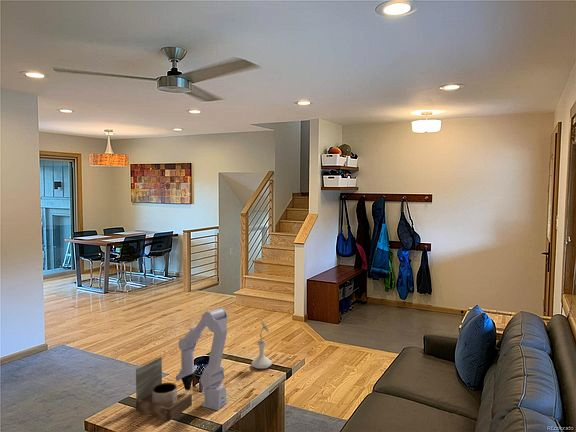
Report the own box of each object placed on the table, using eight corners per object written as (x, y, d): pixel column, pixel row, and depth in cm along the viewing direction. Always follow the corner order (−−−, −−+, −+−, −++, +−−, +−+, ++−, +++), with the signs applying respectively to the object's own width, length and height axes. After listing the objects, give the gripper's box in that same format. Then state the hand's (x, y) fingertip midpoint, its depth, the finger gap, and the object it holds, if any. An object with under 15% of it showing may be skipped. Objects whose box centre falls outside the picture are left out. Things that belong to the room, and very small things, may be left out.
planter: (171, 416, 182) (170, 394, 181) (147, 414, 183) (147, 392, 183) (181, 403, 193) (181, 383, 192) (158, 401, 194) (158, 381, 194)
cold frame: (191, 405, 191) (191, 364, 190) (168, 421, 177) (168, 377, 177) (160, 396, 199) (160, 357, 198) (136, 411, 185) (135, 369, 184)
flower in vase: (271, 370, 229) (271, 325, 228) (250, 370, 230) (250, 325, 228) (272, 361, 242) (272, 318, 241) (252, 361, 243) (252, 318, 241)
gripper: (190, 355, 210) (190, 381, 211) (170, 365, 197) (170, 394, 198) (201, 357, 207) (201, 384, 208) (182, 368, 194) (182, 397, 195)
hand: (187, 389), depth 203 cm, fingers closed
